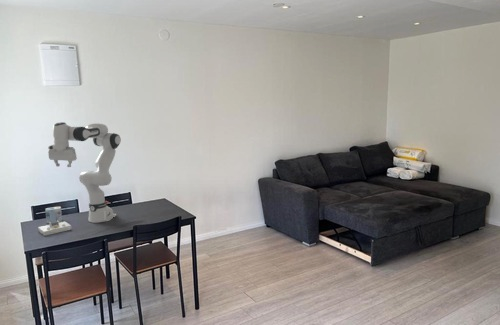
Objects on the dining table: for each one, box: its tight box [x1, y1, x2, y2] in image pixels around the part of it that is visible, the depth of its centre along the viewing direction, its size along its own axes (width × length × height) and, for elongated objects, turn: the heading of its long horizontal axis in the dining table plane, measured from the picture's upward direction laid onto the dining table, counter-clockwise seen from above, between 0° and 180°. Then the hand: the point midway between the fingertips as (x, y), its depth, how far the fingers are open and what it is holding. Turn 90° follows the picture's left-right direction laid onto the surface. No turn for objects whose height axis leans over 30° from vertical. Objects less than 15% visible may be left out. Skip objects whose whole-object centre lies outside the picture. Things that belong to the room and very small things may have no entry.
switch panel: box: [37, 220, 72, 236], centre depth 261 cm, size 13×18×6 cm
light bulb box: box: [45, 206, 63, 225], centre depth 280 cm, size 11×7×11 cm, turn 122°
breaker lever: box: [49, 211, 57, 226], centre depth 262 cm, size 2×3×11 cm
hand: (63, 166), depth 247 cm, fingers open, 8 cm apart
